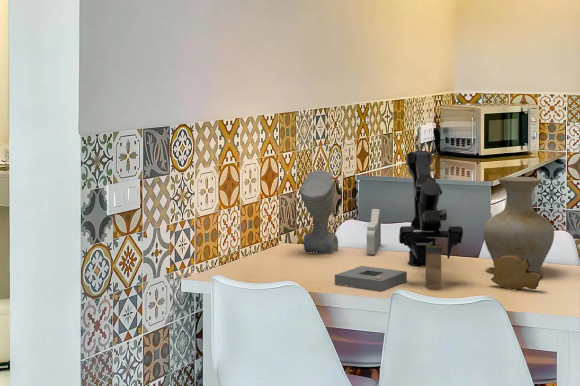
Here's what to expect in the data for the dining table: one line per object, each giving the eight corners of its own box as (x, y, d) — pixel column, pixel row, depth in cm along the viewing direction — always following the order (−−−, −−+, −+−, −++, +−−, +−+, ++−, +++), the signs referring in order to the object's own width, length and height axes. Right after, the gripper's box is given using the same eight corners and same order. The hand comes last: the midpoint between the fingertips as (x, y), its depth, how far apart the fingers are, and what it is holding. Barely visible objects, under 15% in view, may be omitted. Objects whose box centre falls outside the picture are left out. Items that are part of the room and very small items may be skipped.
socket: (361, 275, 267) (361, 264, 267) (406, 281, 258) (406, 270, 257) (334, 284, 254) (334, 273, 254) (381, 291, 245) (381, 279, 244)
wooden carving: (543, 290, 245) (544, 256, 244) (540, 293, 241) (541, 259, 240) (487, 284, 253) (488, 251, 251) (483, 287, 249) (484, 254, 247)
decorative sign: (374, 262, 299) (374, 221, 296) (366, 262, 299) (366, 221, 296) (380, 244, 321) (380, 206, 318) (373, 244, 322) (373, 206, 318)
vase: (494, 262, 285) (496, 174, 281) (560, 268, 274) (563, 177, 270) (473, 274, 266) (475, 180, 263) (543, 281, 255) (545, 183, 252)
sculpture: (339, 247, 315) (339, 167, 312) (332, 259, 293) (332, 173, 290) (307, 246, 317) (307, 167, 314) (298, 258, 295) (297, 173, 292)
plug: (425, 285, 251) (425, 244, 250) (439, 286, 251) (439, 244, 249) (426, 289, 247) (427, 247, 245) (441, 289, 247) (441, 247, 245)
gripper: (400, 199, 253) (403, 242, 243) (462, 199, 252) (468, 242, 242) (397, 222, 262) (400, 263, 252) (458, 221, 261) (463, 263, 251)
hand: (432, 257), depth 249 cm, fingers open, 9 cm apart
